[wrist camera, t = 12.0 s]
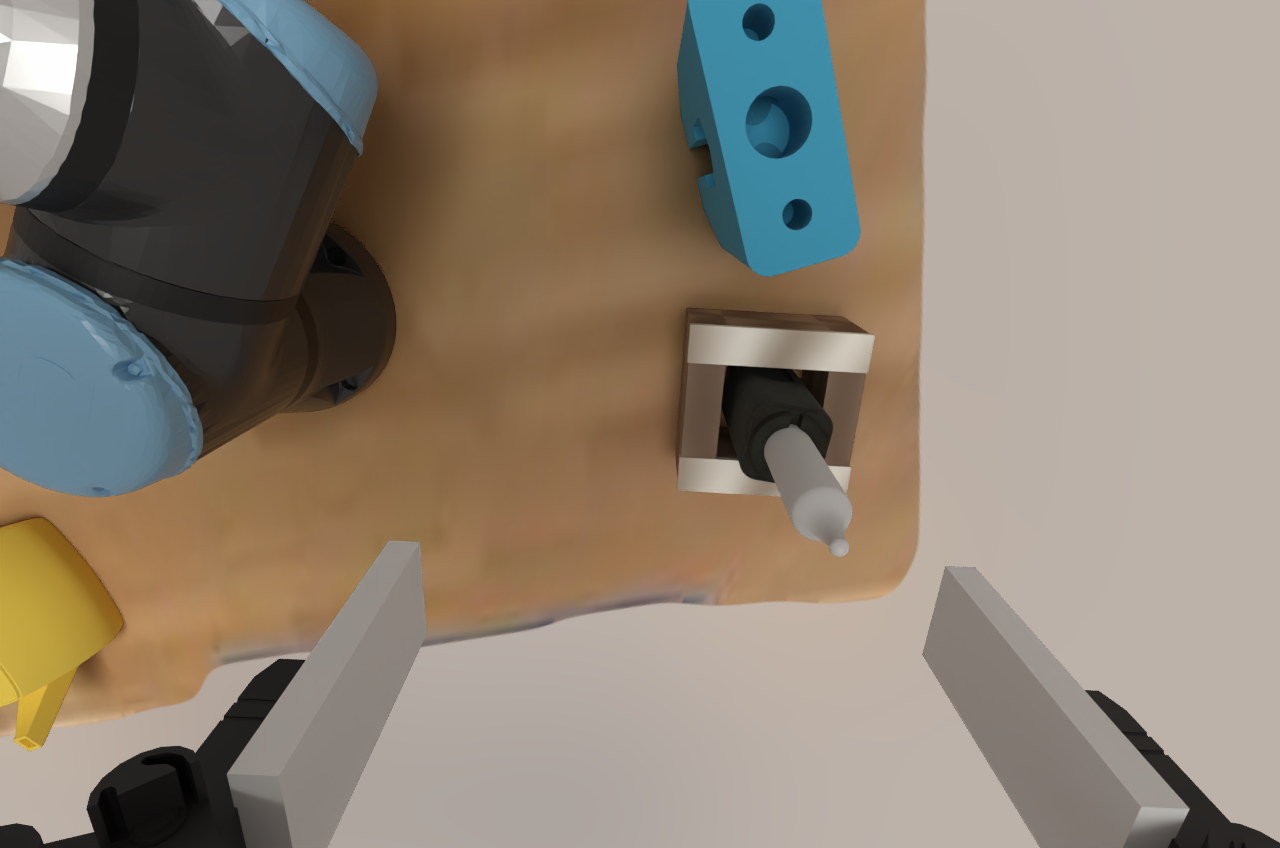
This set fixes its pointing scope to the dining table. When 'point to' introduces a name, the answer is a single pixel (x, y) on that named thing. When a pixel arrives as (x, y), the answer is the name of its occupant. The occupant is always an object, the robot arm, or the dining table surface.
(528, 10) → the dining table surface
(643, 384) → the dining table surface
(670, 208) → the dining table surface
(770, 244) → the block
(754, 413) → the grey and black rod
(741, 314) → the holder
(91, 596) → the teapot
